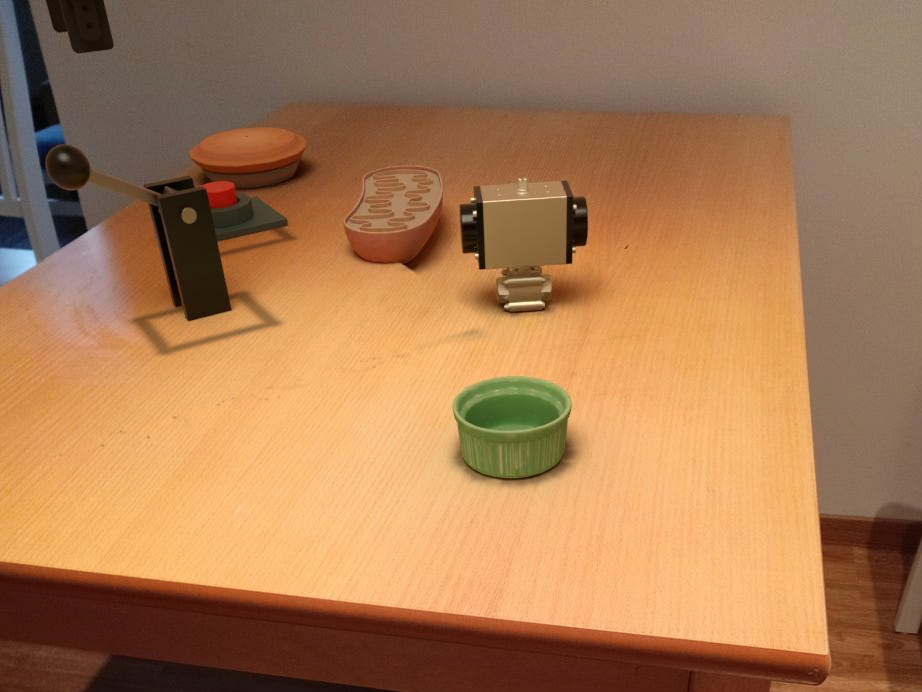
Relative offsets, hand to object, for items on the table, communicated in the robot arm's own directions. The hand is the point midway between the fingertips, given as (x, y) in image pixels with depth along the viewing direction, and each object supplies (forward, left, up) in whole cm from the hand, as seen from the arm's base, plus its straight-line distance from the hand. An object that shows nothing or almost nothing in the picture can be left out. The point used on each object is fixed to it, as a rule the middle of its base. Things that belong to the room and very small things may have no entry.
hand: (83, 40), depth 84 cm
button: (+14, +21, -21) cm, 33 cm away
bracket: (+4, -1, -25) cm, 25 cm away
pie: (+25, +41, -25) cm, 55 cm away
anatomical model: (+30, +7, -25) cm, 40 cm away
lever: (-1, -1, -13) cm, 13 cm away
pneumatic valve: (+32, -16, -25) cm, 44 cm away
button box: (+14, +21, -25) cm, 35 cm away
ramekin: (+16, -40, -25) cm, 50 cm away
